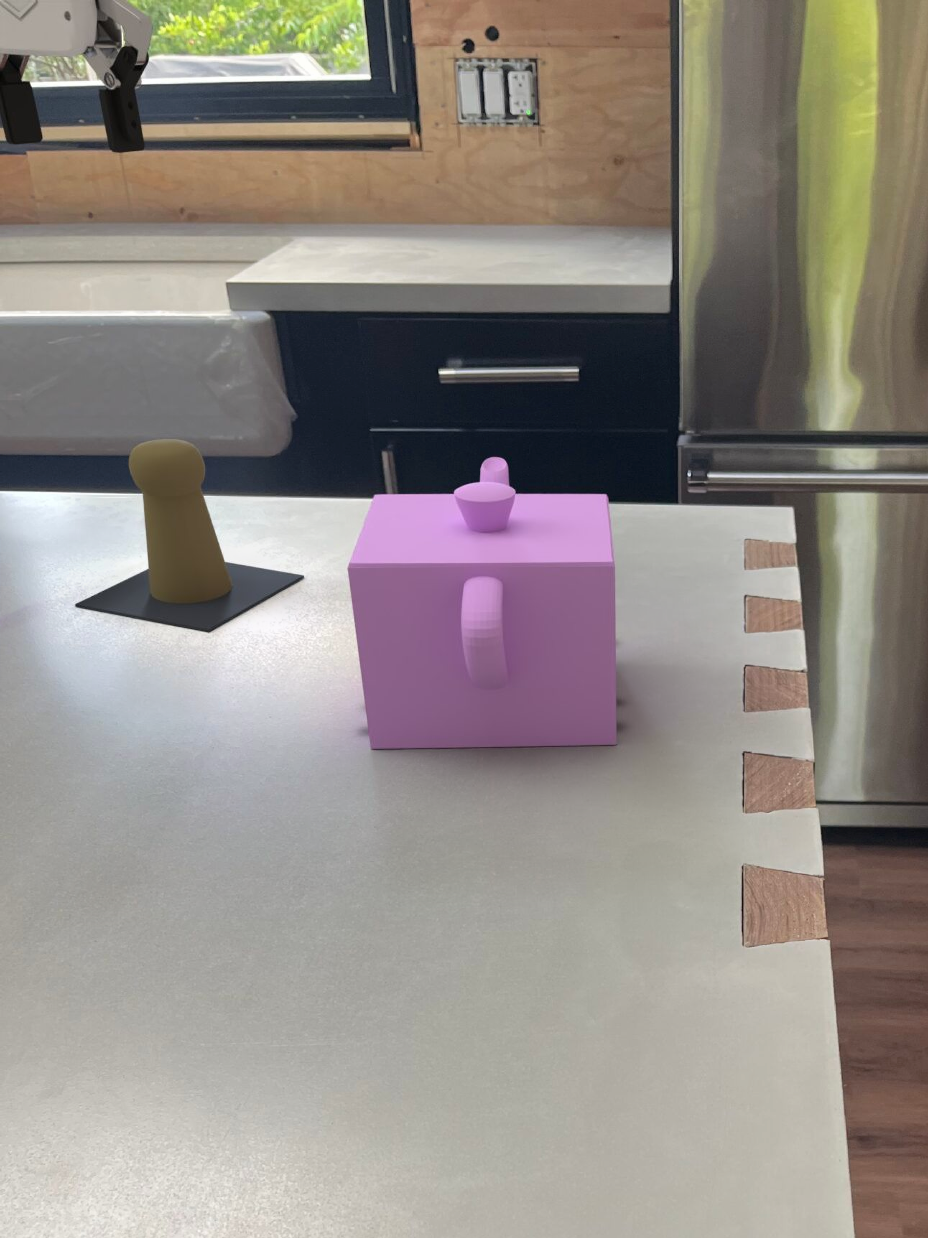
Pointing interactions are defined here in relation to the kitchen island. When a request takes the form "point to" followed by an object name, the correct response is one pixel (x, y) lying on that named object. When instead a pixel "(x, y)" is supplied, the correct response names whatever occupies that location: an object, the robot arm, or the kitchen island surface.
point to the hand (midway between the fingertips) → (76, 147)
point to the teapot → (486, 617)
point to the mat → (203, 616)
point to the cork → (178, 523)
